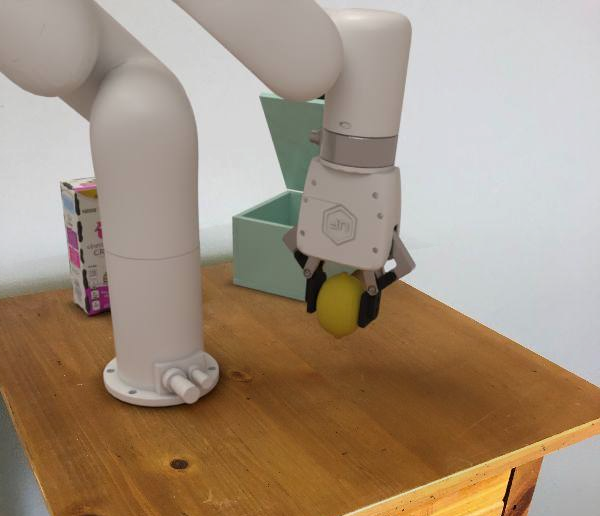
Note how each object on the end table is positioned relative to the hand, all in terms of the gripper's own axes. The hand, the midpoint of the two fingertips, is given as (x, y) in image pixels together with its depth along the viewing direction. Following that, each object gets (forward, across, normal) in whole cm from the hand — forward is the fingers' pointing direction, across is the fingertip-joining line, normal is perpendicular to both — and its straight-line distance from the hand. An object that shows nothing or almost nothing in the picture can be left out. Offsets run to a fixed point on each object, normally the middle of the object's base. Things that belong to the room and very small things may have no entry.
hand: (340, 314), depth 83 cm
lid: (-11, -18, +26) cm, 33 cm away
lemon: (+3, 0, 0) cm, 3 cm away
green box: (+7, -17, +23) cm, 29 cm away
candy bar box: (+8, -33, +2) cm, 34 cm away
